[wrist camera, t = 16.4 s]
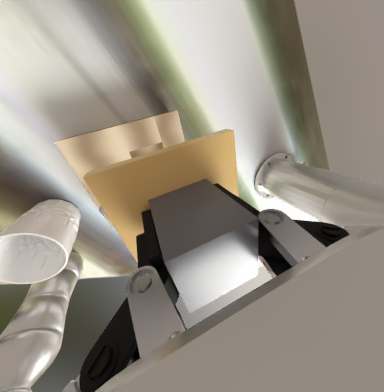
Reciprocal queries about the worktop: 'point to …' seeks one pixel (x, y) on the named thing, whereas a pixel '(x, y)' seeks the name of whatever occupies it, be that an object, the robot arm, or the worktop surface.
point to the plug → (185, 213)
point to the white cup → (38, 242)
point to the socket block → (120, 144)
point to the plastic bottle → (37, 329)
